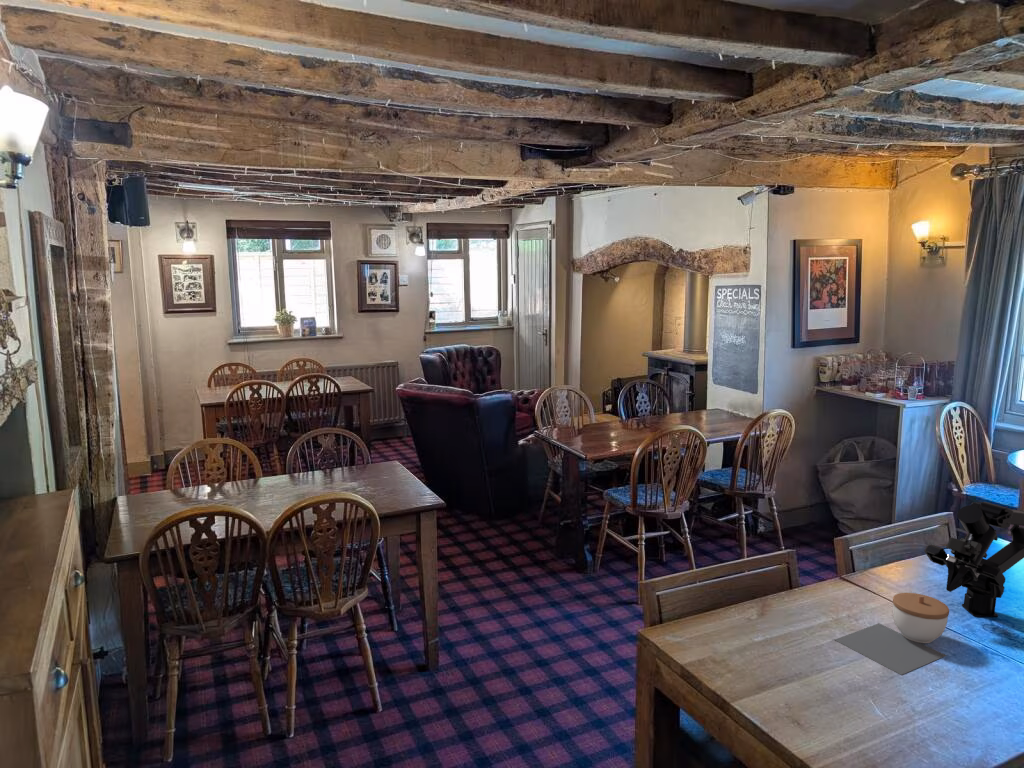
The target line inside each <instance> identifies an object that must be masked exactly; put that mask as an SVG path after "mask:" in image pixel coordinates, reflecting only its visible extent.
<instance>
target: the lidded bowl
mask: <svg viewBox="0 0 1024 768" xmlns="http://www.w3.org/2000/svg"><path fill="white" fill-rule="evenodd" d="M949 615H950V608H949V607H948V605H947V604H946V603H944V602H942V601H941V600H939V599H938V598H935V597H932V596H929V595H925V594H921V593H916V592H915V593H914V592H899V593H897V594H895V595H894V596H893V597H892V619H893V622H894V625H895V627H896V628H897V630H899V633H901V634H902V635H903V636H904V637H905V638H907V639H909V640H911V641H914V642H918V643H922V644H930V643H933V642H934V640H937V639H938V638H940V636H942V635H943V634H944V632H945V629H946V628H947V624H948V620H949Z"/></svg>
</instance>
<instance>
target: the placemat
mask: <svg viewBox="0 0 1024 768" xmlns="http://www.w3.org/2000/svg"><path fill="white" fill-rule="evenodd" d="M834 641H835V642H837V643H839V644H841V645H842V646H844V647H846V648H849V650H852V651H854V652H856V653H858V654H860V655H862V656H864V657H865V658H867V659H869V660H871V661H872V662H873V661H874V662H876V664H879V665H881V666H883V667H884V668H886V669H888V670H890V671H893V672H894V673H896V674H897V675H900V676H903V675H905V674H908V673H910V672H912V671H914V670H917V669H919V668H922V667H924V666H926V665H929V664H932V663H934V662H935V661H938V660H939V659H943V658H945V657H946V656H947V654H945V653H942V652H941V651H939V650H936V649H934V648H932V647H930V646H928V645H926V644H925V643H918V642H914V641H911V640H909V639H907V638H905V637H904V636H903V635H902V634H901V632H900V631H899V632H898V631H896V630H894V629H891V628H889V627H888V626H885V625H883V624H881V623H879V622H878V623H876V624H873V625H870V626H867V627H865V628H863V629H859V630H856V631H854V632H851V633H849V634H846V635H843V636H840V637H838V638H835V639H834Z"/></svg>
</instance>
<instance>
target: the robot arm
mask: <svg viewBox="0 0 1024 768" xmlns="http://www.w3.org/2000/svg"><path fill="white" fill-rule="evenodd" d="M956 514H957V518H958V520H959V522H960V523H961V525H962V526H963V528H964V530H965V531H966V532H967V534H966V535H965V537H961V538H960V539H957V538H955V537H952V536H951V537H949V539H948V542H947V544H946V547H945V548H946V549H948V550H950V553H951V554H952V555H951V554H948V553H947V552H946V550H945V549H944V548H943V547H941V546H937V545H934V544H928V545H927V546H926V547H925V549H924V550H923V552H924V553H925V555H926V557H928V559H929V560H930V562H932V563H933V564H936V565H939V566H946V568H947V580H946V581H947V582H946V587H945V588H946V591H947V592H950V593H951V592H953V591H955V590H957V589H959V588H960V587H962V588H966V592H965V593H964V599H963V603H961V607H962V608H964V609H965V610H966V611H968V613H969V614H970V615H972V616H973V617H986V618H999V615H998V613H997V612H996V604H997V598H999V599H1000V598H1002V596H1003V594H1004V593H1005V586H1004V585H1005V582H1006V577H1005V575H1004V573H1006V572H1007V571H1009V570H1010V569H1011V568H1012V567H1014V566H1015V565H1016V564H1017V563H1019V562H1021V561H1022V560H1023V559H1024V510H1023V509H1019V510H1018V509H1017V510H1015V509H1011V508H1008V507H1005V506H1002V505H998V504H994V503H991V502H987V501H983V502H981V503H977V502H974V501H973V502H971V504H969V505H965V506H962V507H961V508H959V509H958V510H957V513H956ZM1011 525H1012V527H1011ZM994 527H996V528H1000V529H1007V528H1010V527H1011V528H1010V535H1011V541H1010V542H1009V543H1008V544H1006V545H1004V547H1002V548H1001V549H999V550H998V551H996V552H995V553H994V554H992V555H990V556H989V557H988V554H987V553H988V550H989V548H991V545H992V543H993V542H994V541H995V542H997V541H998V539H999V538H998V534H997V530H996V529H995V528H994ZM987 557H988V558H987Z"/></svg>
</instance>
